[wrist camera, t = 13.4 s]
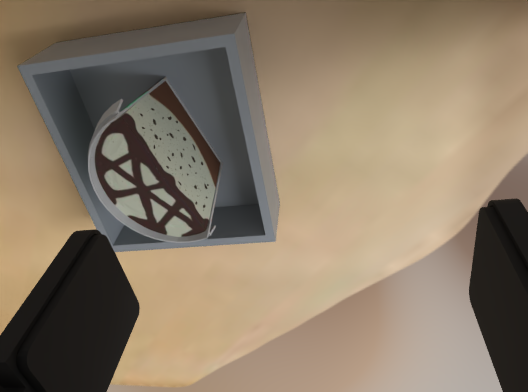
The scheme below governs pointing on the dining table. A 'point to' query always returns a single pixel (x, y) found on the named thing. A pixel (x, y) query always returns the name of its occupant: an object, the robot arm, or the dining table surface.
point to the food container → (155, 167)
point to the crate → (193, 96)
